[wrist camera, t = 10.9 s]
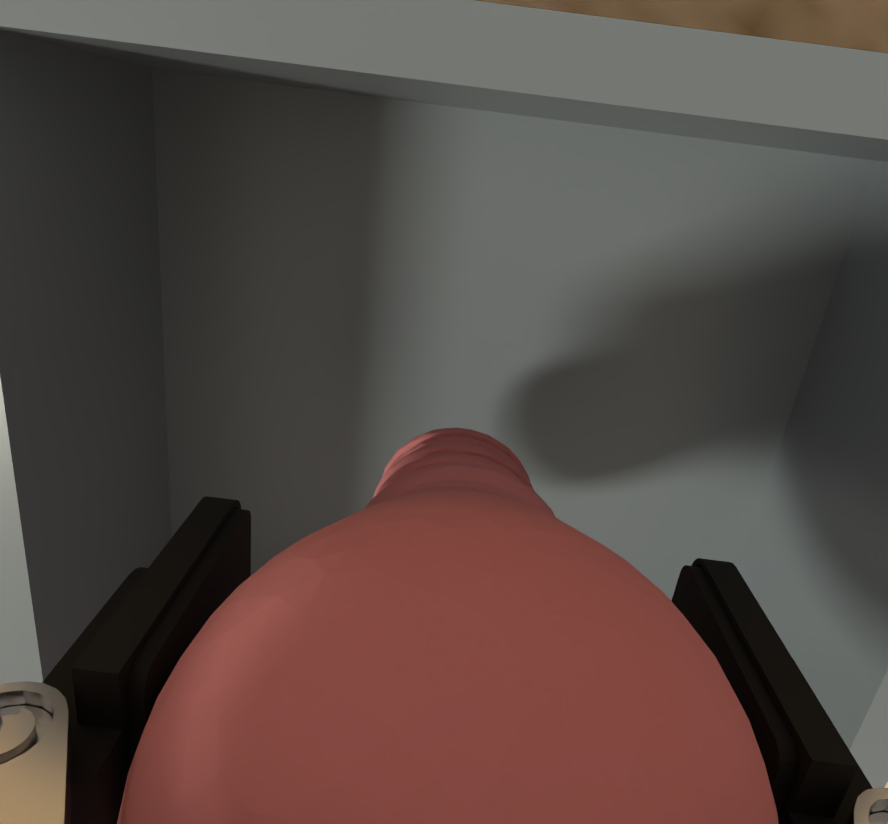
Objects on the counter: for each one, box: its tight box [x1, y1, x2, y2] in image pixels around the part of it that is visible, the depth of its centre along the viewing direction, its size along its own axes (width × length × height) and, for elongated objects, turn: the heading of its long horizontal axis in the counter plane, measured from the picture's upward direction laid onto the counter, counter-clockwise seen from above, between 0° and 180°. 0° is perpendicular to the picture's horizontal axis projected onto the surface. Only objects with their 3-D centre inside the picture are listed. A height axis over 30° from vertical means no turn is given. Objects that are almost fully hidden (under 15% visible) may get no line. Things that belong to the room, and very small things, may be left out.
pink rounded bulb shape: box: [117, 427, 779, 824], centre depth 10 cm, size 7×7×12 cm
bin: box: [0, 0, 888, 788], centre depth 15 cm, size 18×18×7 cm
